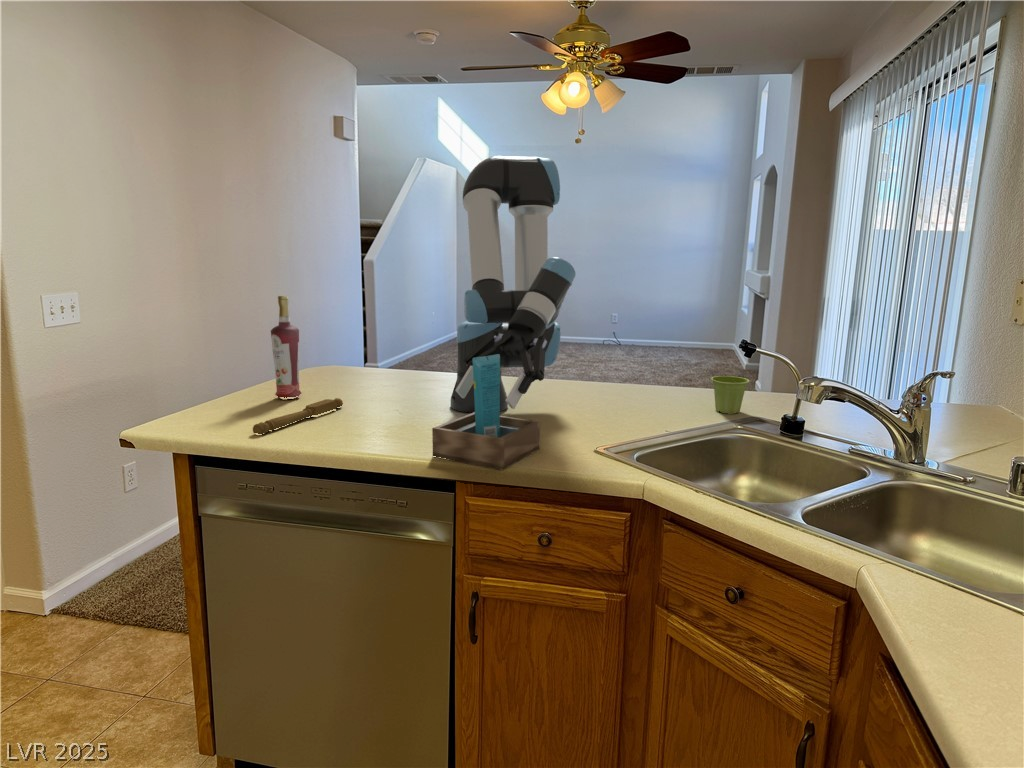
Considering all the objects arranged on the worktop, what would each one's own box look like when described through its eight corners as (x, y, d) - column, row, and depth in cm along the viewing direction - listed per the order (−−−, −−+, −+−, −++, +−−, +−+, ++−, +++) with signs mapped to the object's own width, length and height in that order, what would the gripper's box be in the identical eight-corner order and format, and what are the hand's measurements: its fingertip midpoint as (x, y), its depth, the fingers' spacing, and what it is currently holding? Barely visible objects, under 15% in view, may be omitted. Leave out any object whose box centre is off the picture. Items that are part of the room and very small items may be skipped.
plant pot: (748, 417, 172) (751, 383, 171) (710, 414, 174) (712, 381, 173) (744, 408, 181) (746, 376, 180) (707, 406, 183) (709, 375, 182)
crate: (432, 456, 136) (432, 428, 135) (475, 438, 150) (475, 411, 149) (501, 470, 129) (501, 439, 128) (539, 449, 143) (540, 421, 141)
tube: (490, 442, 144) (489, 352, 140) (508, 446, 141) (508, 354, 137) (466, 450, 138) (465, 356, 134) (484, 454, 135) (483, 359, 131)
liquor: (308, 397, 188) (303, 296, 183) (286, 402, 182) (280, 297, 176) (290, 394, 192) (285, 294, 186) (268, 398, 186) (262, 296, 180)
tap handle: (251, 423, 150) (335, 396, 177) (252, 436, 151) (335, 407, 178) (261, 424, 149) (345, 397, 176) (262, 438, 150) (345, 408, 177)
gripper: (586, 335, 139) (540, 420, 131) (495, 325, 155) (449, 400, 147) (572, 311, 134) (523, 398, 126) (479, 303, 150) (431, 380, 142)
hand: (483, 399), depth 137 cm, fingers open, 13 cm apart
